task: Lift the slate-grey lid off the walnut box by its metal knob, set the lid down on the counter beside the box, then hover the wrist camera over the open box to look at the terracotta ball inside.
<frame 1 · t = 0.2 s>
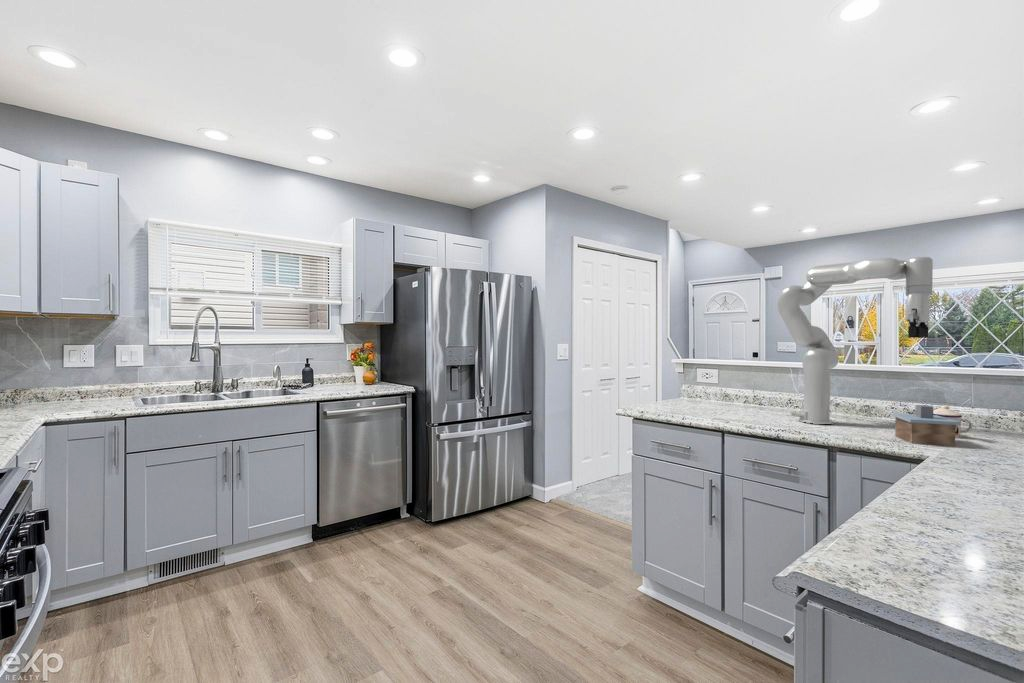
hand: (918, 337, 177), 37 cm above the worktop, tool pointing down, fingers open, 9 cm apart
ball: (923, 440, 167), point 1 cm above the worktop, touching box
teacup with lid: (949, 438, 176), on the worktop
box: (923, 443, 167), on the worktop
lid: (924, 420, 167), point 8 cm above the worktop, touching box
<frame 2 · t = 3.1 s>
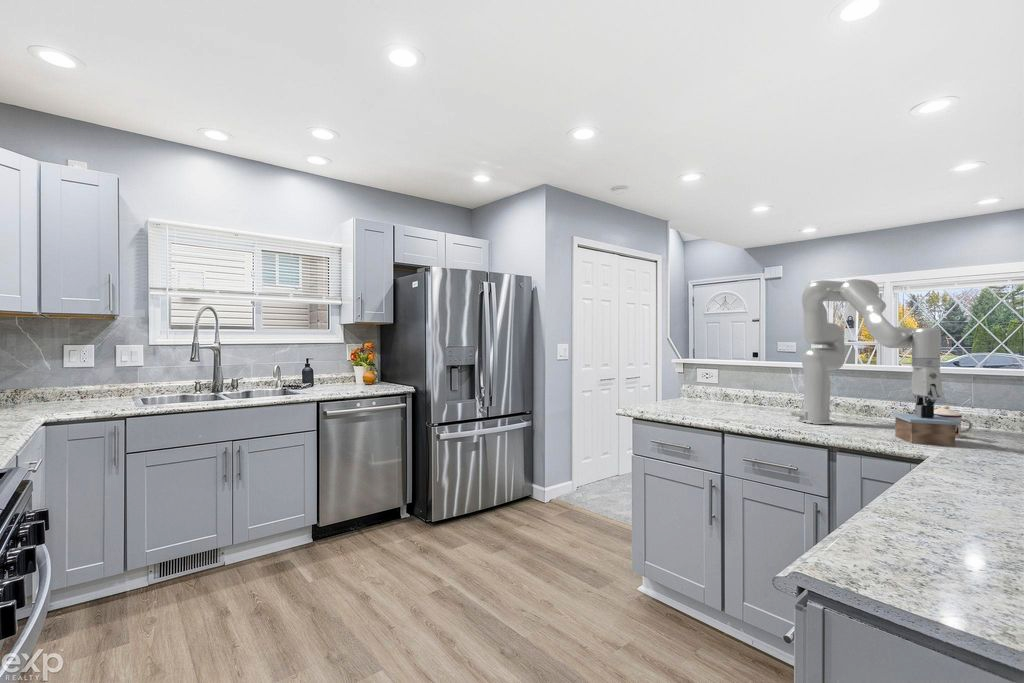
hand: (924, 415, 167), 10 cm above the worktop, tool pointing down, fingers closed on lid, 3 cm apart
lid: (924, 420, 167), point 8 cm above the worktop, touching box, gripper
everything else where it was.
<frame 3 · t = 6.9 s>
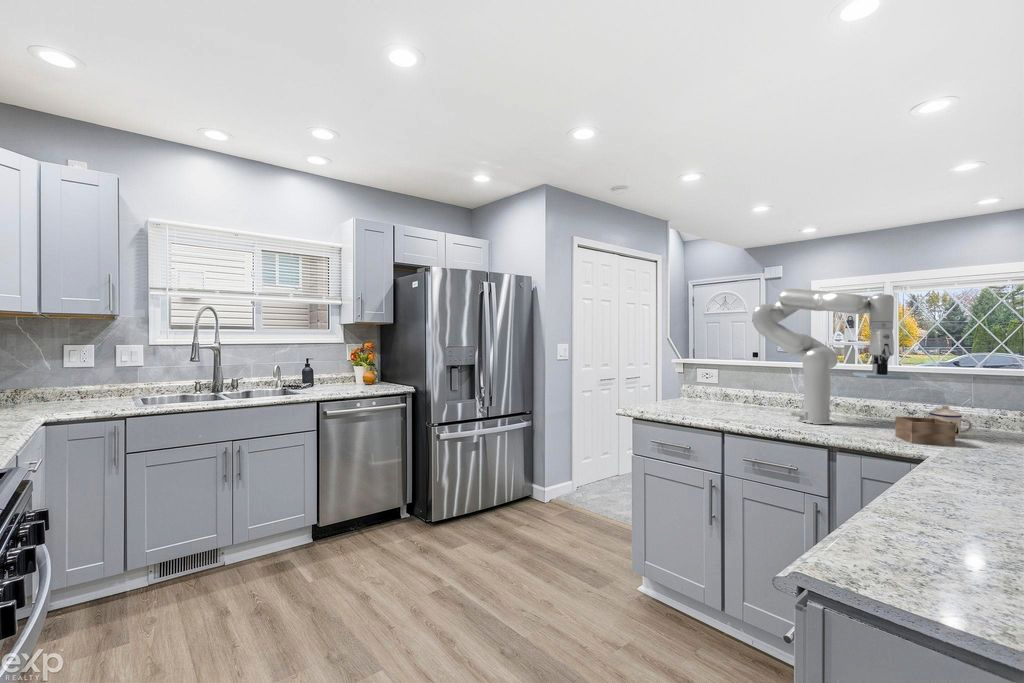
hand: (879, 373, 187), 23 cm above the worktop, tool pointing down, fingers closed on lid, 3 cm apart
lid: (879, 377, 187), point 21 cm above the worktop, touching gripper
everything else where it was.
when the fingers open (3 cm above the worktop, at t = 10.7 s): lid drops 2 cm, on the worktop.
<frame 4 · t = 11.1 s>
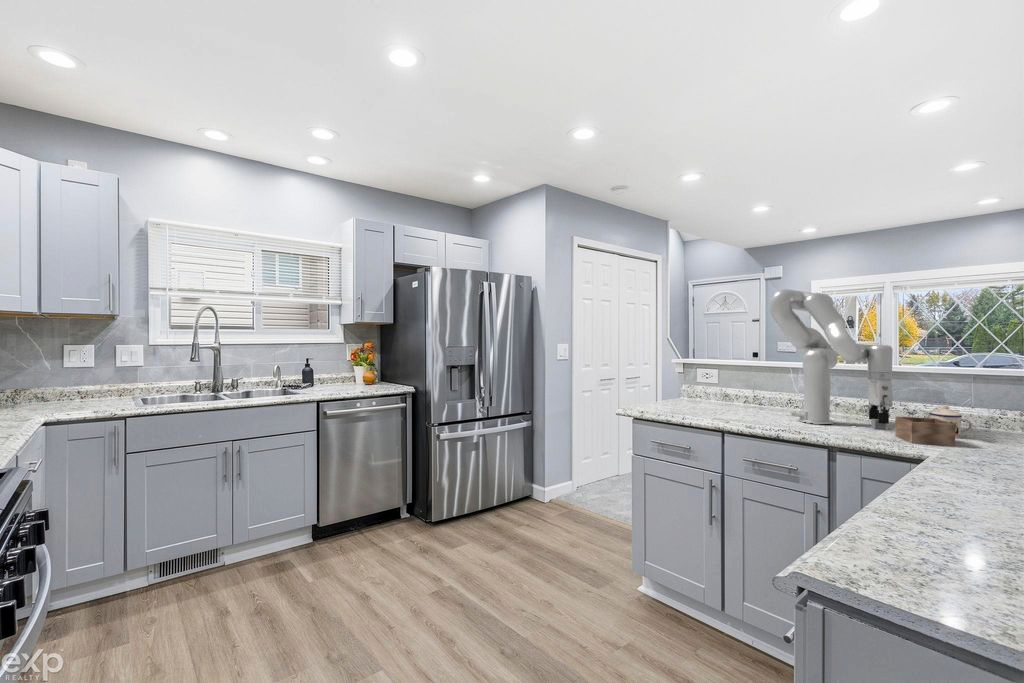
hand: (878, 421, 188), 4 cm above the worktop, tool pointing down, fingers open, 8 cm apart
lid: (878, 432, 188), on the worktop
everything else where it was.
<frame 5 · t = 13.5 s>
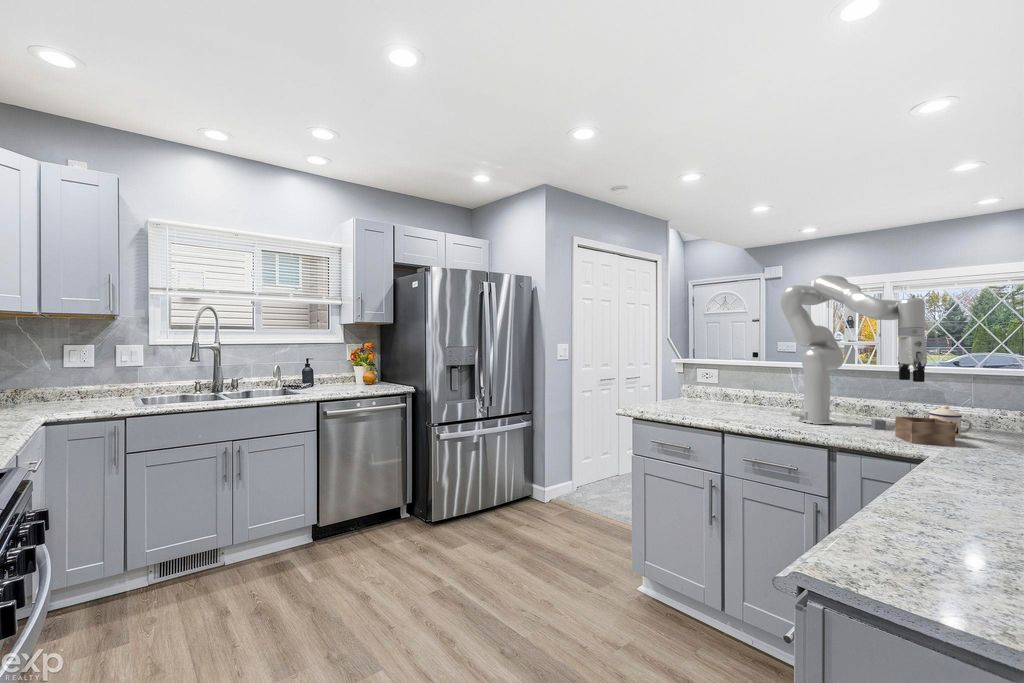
hand: (911, 380, 173), 21 cm above the worktop, tool pointing down, fingers open, 9 cm apart
nothing on the worktop moved.
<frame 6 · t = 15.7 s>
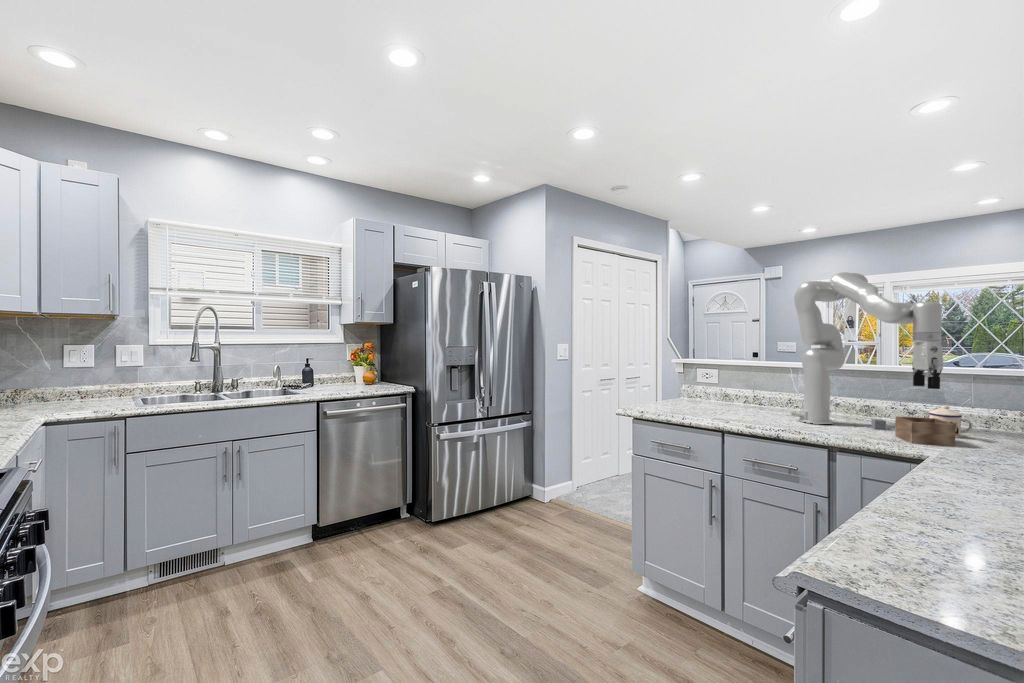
hand: (926, 387, 166), 19 cm above the worktop, tool pointing down, fingers open, 9 cm apart
nothing on the worktop moved.
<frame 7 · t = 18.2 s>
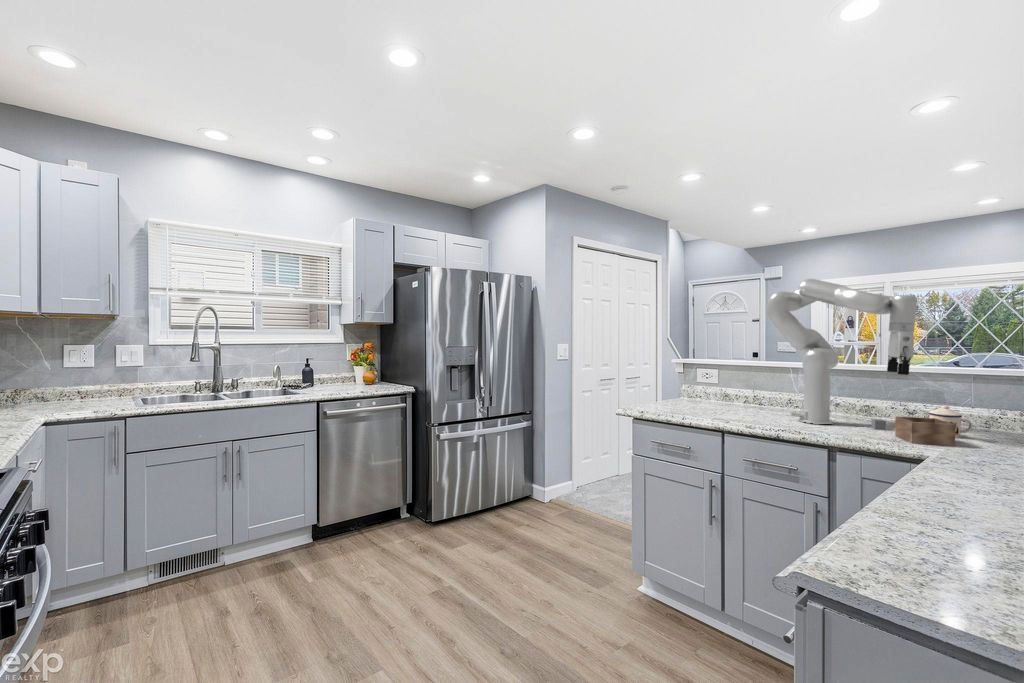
hand: (897, 373, 182), 23 cm above the worktop, tool pointing down, fingers open, 9 cm apart
nothing on the worktop moved.
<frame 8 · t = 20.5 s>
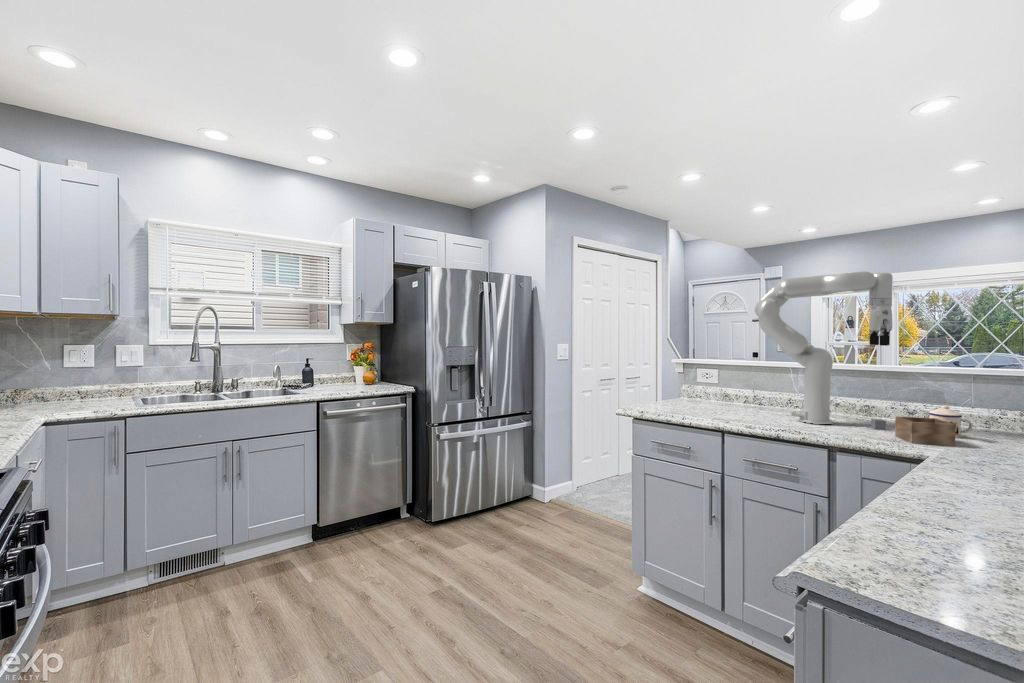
hand: (879, 345, 197), 33 cm above the worktop, tool pointing down, fingers open, 9 cm apart
nothing on the worktop moved.
at the end: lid inside the target area (0.1 cm from its centre), on the worktop; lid touching worktop; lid tilted 0° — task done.
